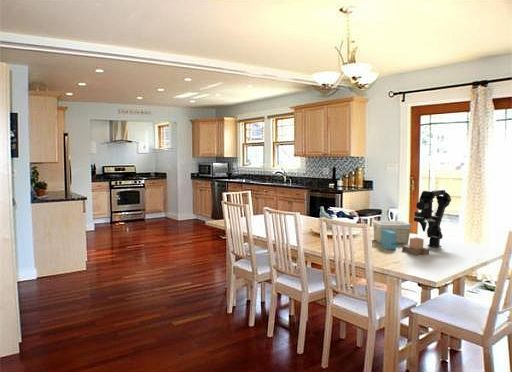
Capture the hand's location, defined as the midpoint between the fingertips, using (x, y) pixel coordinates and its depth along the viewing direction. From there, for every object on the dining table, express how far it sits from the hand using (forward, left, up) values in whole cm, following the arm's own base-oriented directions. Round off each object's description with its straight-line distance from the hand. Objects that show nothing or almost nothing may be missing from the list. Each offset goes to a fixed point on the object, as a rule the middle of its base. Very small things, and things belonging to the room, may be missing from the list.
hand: (426, 231), depth 276 cm
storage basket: (+6, -28, -13) cm, 31 cm away
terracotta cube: (+14, +5, -9) cm, 17 cm away
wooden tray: (+14, +5, -13) cm, 20 cm away
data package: (+22, -12, -13) cm, 28 cm away
